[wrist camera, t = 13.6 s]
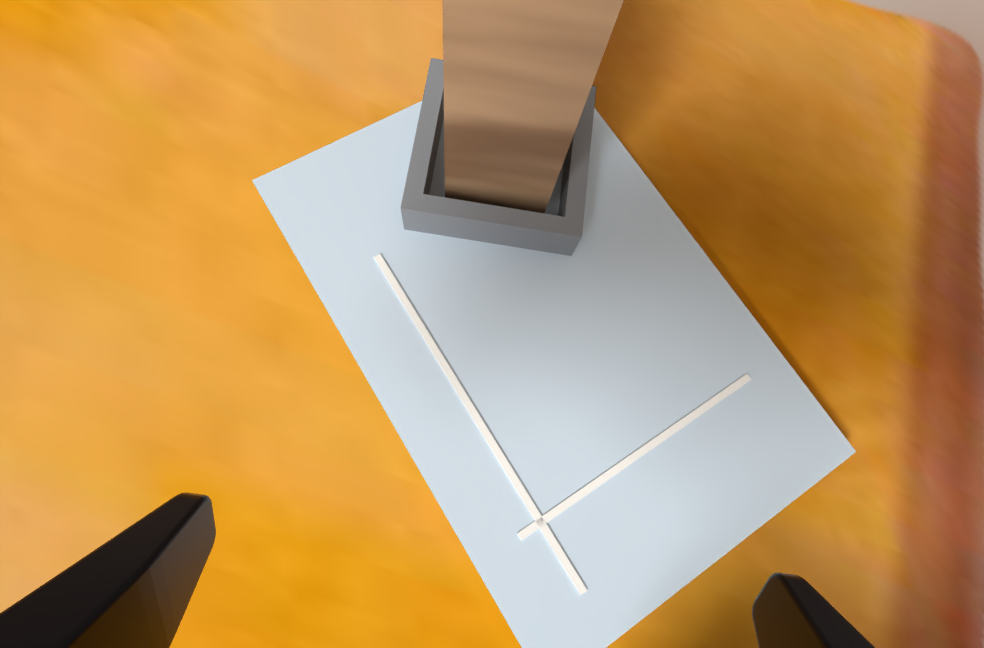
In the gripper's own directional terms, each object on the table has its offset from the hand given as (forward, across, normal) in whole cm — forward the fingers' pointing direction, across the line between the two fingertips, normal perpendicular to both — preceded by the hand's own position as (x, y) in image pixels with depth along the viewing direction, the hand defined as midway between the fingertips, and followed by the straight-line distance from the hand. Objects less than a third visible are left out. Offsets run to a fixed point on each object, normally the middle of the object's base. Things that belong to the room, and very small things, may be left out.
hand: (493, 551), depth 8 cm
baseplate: (+16, -2, +4) cm, 16 cm away
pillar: (+20, +1, -2) cm, 20 cm away
